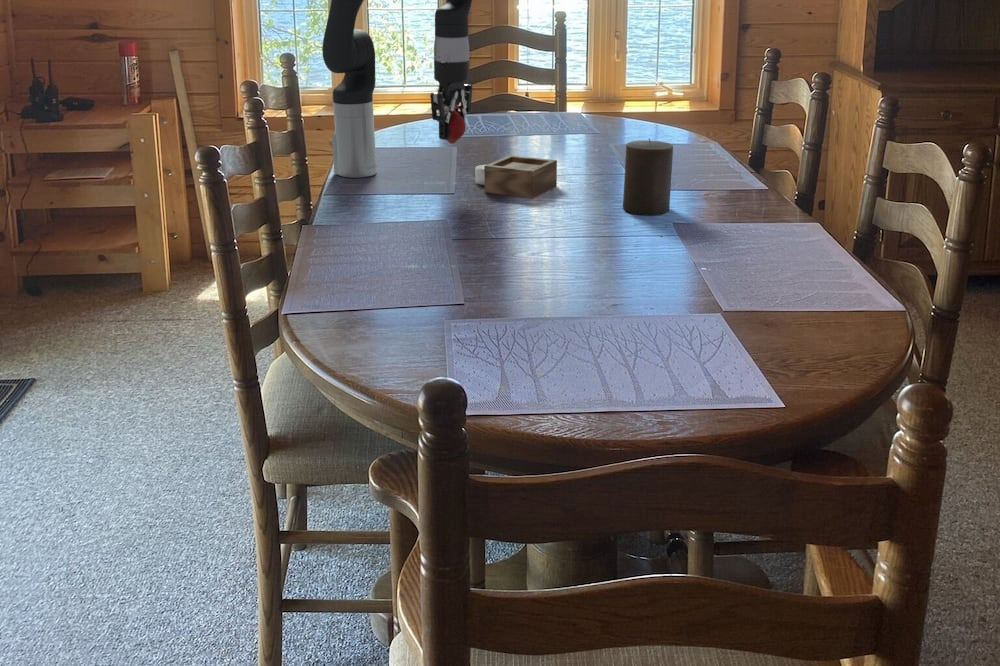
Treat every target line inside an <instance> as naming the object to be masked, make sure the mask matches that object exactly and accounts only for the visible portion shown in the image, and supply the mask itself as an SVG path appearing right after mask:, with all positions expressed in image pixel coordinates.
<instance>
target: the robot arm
mask: <svg viewBox="0 0 1000 666" xmlns="http://www.w3.org/2000/svg"><path fill="white" fill-rule="evenodd" d="M364 1H365V0H331V1H330V6H329V11H328V17H327V21H326V26H325V31H324V35H323V41H322V48H321V49H322V59H323V63H324V64H325V67H326V68H327V69H328V70H329V71H330V72H332V73H333V74H344V75H343V79H342V81H340V83H339V84H338V85H337V86H336V87H334V89H333V90H332V102H333V103H332V105H333V119H334V121H333V123H334V133H332V134H331V145H332V159H333V160H332V161H333V171H334V172H333V173H334V175H338V176H340V177H343V178H354V179H355V178H365V177H371V176H374V175H376V174H377V155H376V153H377V152H376V135H375V133H376V132H375V120H374V119H375V118H374V117H375V115H374V101H373V97H374V95H373V94H374V91H375V89H376V51H375V49H376V48H375V44H374V41H373V38H372V37H371V36H370V34H369V33H368V32H367V31H366V30H363V29H361V28H360V29H359V28H355V26H356V21H357V16H358V13H359V11H360V8H361V6H362V5H363V3H364ZM472 2H473V0H446V1H445V3H444V4H443V5H441V6H440V7H438V8H437V9H436V10H435V13H434V42H433V43H434V44H433V72H434V73H433V76H434V77H433V79H434V80H435V81H436V82H438V83H439V86H438V90H437V91H436V92H431V93H430V104H431V107H430V108H431V115H432V116H431V118H432V120H433V121H437V122H438V136H439V137H438V138H439V139H440V140H443V141H447V139H449V138H450V132H449V119H450V114H451V113H452V112H453V110H454V108H456V109H455V111H456V112H457V113H459V114H460V115H461V116H462V118H463V119H464V121H466V120H465V119H466V117H467V113H471V108H472V97H473V96H472V95H473V94H472V93H473V84H467V83H466V84H465V82H468V81H469V80H470V43H469V13H470V10H471V6H472ZM445 113H446V115H445Z"/></svg>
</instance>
